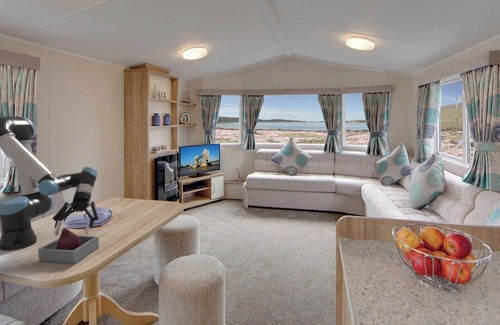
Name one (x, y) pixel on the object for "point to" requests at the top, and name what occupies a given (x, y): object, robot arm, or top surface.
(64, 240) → the vegetable
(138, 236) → the top surface
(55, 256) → the slate bin
